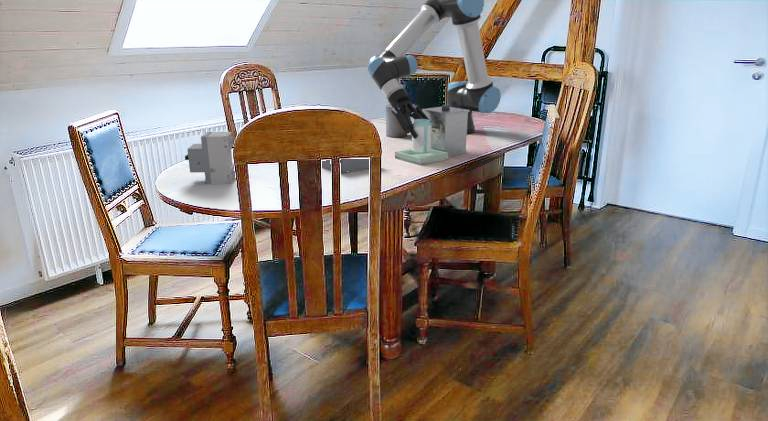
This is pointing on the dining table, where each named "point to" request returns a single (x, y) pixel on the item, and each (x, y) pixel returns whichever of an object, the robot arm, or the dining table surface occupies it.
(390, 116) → the pillar candle
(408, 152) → the tray
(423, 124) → the can
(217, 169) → the circuit breaker
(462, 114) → the box
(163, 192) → the dining table surface
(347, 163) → the wheel bin
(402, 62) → the robot arm
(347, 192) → the dining table surface
